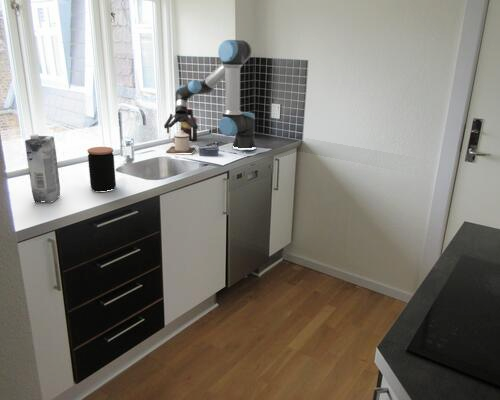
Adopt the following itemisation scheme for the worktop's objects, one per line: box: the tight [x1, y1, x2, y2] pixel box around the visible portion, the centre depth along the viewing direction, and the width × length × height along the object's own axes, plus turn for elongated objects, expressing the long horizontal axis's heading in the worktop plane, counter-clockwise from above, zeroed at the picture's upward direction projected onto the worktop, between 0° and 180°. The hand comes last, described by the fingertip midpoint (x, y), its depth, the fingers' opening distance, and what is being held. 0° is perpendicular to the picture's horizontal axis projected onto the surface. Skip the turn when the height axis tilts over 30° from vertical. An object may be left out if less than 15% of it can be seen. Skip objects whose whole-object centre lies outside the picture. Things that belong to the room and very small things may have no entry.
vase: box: [180, 108, 198, 142], centre depth 291 cm, size 11×11×20 cm
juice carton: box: [24, 133, 61, 203], centre depth 176 cm, size 9×10×27 cm
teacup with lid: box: [172, 130, 190, 151], centre depth 262 cm, size 12×9×12 cm
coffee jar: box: [87, 146, 117, 192], centre depth 192 cm, size 11×11×18 cm
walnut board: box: [166, 145, 196, 154], centre depth 264 cm, size 15×14×1 cm
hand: (180, 137), depth 265 cm, fingers open, 13 cm apart
